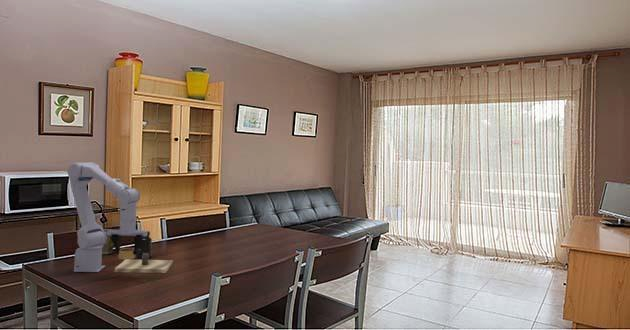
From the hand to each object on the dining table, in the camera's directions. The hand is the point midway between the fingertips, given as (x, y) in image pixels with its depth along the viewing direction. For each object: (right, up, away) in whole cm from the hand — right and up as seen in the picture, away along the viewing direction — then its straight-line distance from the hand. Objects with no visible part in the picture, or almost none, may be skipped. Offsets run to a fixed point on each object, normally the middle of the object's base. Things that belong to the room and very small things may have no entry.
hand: (126, 253), depth 172 cm
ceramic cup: (-23, -6, +33) cm, 41 cm away
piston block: (+2, -8, +13) cm, 15 cm away
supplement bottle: (-5, -8, +28) cm, 29 cm away
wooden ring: (0, -1, 0) cm, 1 cm away
